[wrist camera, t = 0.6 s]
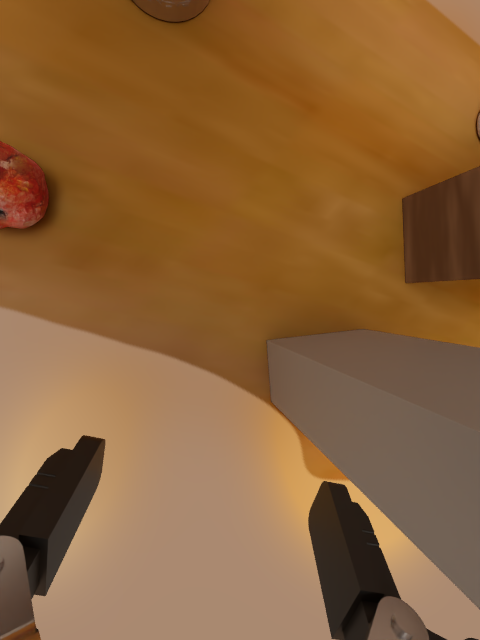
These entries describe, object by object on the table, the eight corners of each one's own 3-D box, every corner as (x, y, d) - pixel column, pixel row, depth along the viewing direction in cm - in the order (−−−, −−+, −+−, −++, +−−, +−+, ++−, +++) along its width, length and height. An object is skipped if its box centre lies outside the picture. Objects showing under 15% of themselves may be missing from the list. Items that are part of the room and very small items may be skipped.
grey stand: (271, 401, 37) (719, 848, 7) (266, 340, 37) (735, 542, 6) (366, 386, 40) (998, 670, 10) (363, 329, 39) (1028, 436, 9)
